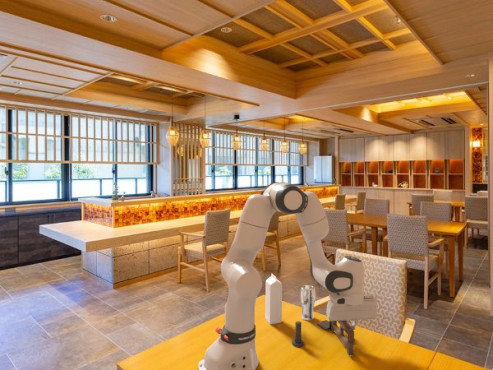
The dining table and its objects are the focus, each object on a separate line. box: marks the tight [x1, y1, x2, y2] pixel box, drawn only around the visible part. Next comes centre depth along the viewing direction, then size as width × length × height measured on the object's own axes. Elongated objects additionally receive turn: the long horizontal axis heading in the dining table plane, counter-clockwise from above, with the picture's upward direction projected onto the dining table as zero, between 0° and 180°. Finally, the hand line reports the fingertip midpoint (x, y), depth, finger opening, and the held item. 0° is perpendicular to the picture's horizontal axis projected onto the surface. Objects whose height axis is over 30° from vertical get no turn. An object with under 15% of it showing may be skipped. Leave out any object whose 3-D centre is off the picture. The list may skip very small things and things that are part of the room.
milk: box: [264, 272, 283, 325], centre depth 155 cm, size 6×6×22 cm
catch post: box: [291, 320, 305, 348], centre depth 136 cm, size 5×5×9 cm
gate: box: [331, 320, 356, 356], centre depth 136 cm, size 20×3×10 cm, turn 5°
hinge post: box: [316, 319, 333, 332], centre depth 150 cm, size 6×8×11 cm
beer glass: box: [300, 284, 316, 322], centre depth 159 cm, size 7×7×15 cm
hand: (351, 329), depth 135 cm, fingers closed
